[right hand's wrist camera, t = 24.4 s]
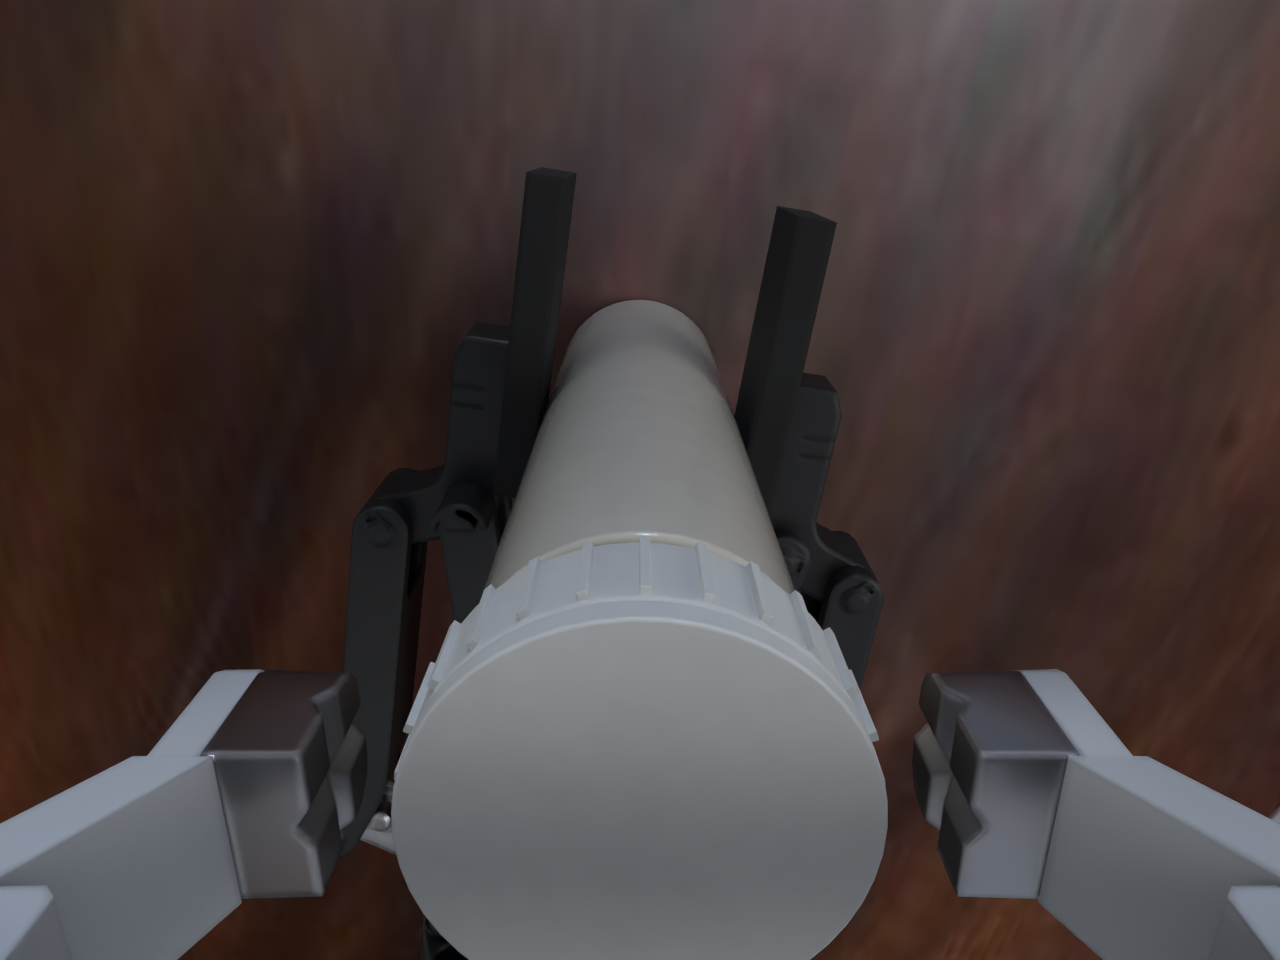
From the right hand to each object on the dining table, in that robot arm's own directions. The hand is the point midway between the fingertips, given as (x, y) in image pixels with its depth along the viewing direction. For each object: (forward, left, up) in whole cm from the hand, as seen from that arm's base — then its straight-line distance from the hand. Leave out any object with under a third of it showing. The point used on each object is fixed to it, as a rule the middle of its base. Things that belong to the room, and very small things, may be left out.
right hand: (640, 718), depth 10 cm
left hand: (-1, +5, -10) cm, 11 cm away
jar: (0, 0, -16) cm, 16 cm away
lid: (0, 0, +2) cm, 2 cm away
